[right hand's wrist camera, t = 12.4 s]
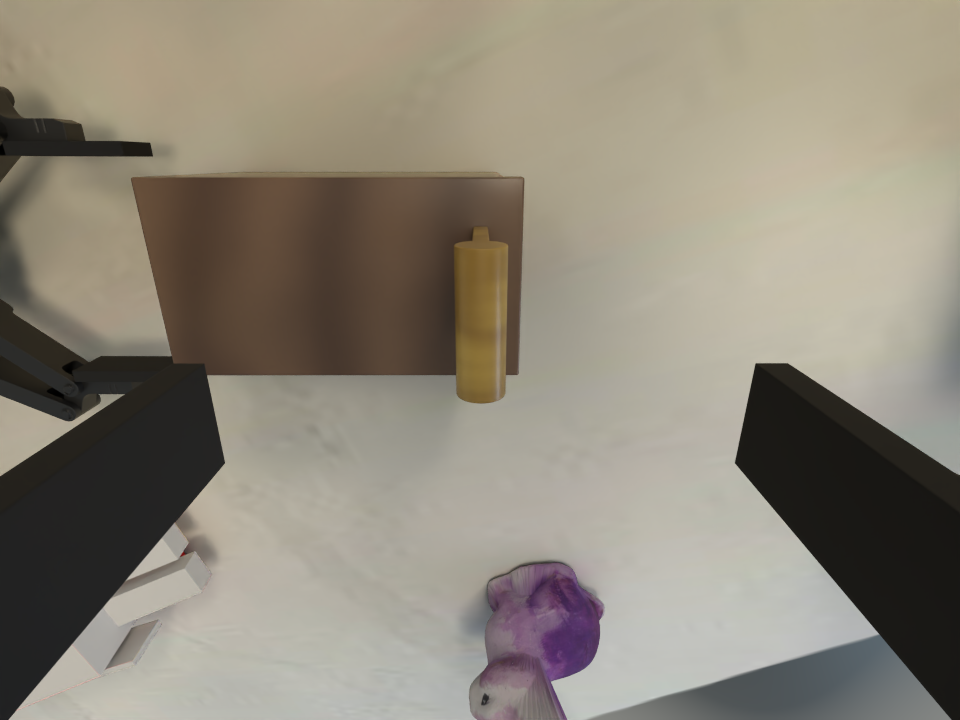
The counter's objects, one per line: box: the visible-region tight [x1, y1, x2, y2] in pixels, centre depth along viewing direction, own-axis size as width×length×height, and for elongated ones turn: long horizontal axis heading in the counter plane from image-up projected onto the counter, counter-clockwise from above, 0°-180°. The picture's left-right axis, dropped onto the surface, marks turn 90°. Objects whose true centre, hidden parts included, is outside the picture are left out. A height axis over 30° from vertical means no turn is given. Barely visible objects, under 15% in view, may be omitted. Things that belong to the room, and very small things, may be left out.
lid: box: [131, 177, 524, 403], centre depth 23 cm, size 18×10×9 cm, turn 90°
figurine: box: [469, 562, 605, 720], centre depth 42 cm, size 9×10×15 cm
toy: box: [16, 523, 212, 711], centre depth 43 cm, size 12×13×30 cm
